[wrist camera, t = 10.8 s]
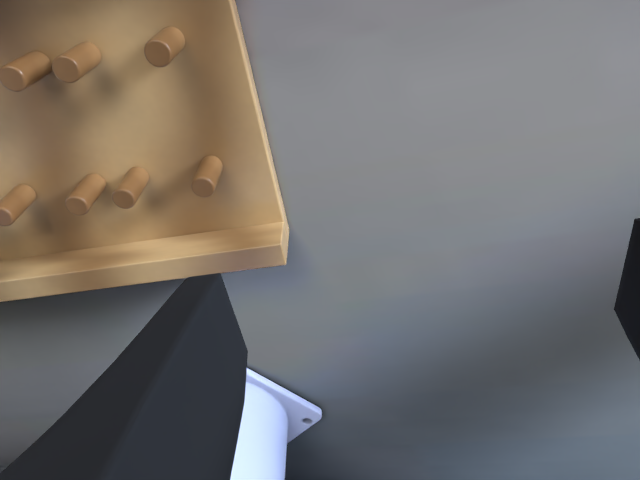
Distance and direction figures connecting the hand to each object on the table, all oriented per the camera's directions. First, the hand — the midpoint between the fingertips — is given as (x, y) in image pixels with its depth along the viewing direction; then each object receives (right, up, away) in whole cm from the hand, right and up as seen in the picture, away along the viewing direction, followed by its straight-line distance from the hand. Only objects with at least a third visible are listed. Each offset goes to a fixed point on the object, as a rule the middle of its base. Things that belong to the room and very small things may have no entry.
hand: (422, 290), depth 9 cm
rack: (-12, +5, +9) cm, 16 cm away
